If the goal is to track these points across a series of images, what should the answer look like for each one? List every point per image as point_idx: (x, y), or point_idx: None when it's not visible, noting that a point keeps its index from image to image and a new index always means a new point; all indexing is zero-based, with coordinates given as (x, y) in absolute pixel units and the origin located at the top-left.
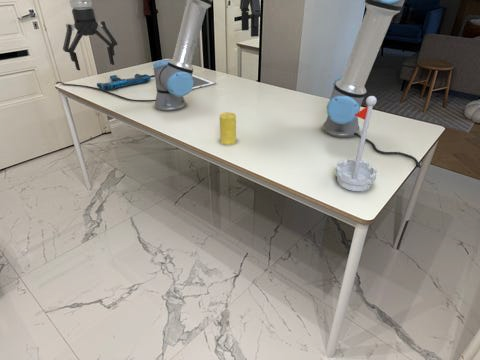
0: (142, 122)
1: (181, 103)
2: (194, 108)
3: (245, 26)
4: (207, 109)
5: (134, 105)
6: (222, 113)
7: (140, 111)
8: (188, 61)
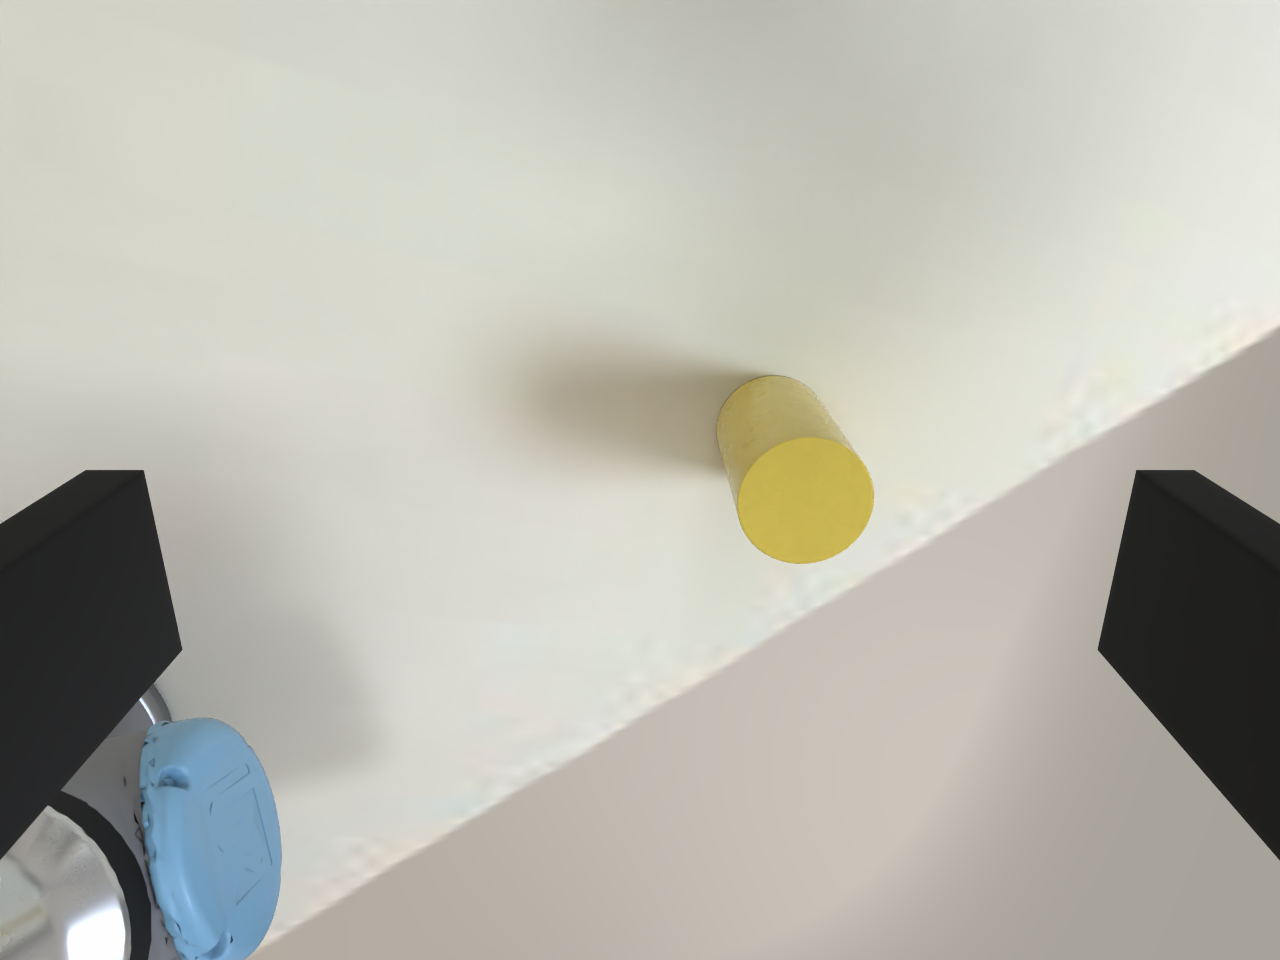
0: (349, 885)
1: None
2: None
3: (102, 614)
4: None
5: None
6: (750, 533)
7: None
8: (22, 926)
